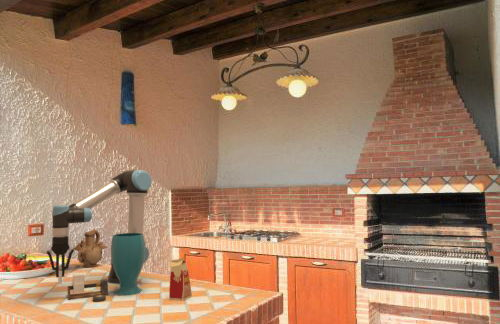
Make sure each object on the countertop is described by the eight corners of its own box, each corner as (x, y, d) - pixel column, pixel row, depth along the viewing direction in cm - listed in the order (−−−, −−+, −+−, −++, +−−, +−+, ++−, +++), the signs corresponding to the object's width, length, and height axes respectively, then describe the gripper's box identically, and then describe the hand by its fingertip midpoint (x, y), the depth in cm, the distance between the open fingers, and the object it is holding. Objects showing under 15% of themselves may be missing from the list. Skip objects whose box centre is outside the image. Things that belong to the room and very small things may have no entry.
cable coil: (104, 298, 223) (104, 293, 223) (106, 300, 218) (106, 296, 218) (92, 299, 220) (92, 295, 221) (93, 302, 215) (93, 298, 215)
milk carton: (191, 296, 225) (191, 256, 226) (183, 300, 216) (182, 259, 217) (175, 294, 228) (175, 255, 228) (166, 299, 219) (166, 258, 220)
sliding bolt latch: (106, 292, 235) (106, 278, 236) (108, 295, 229) (108, 281, 229) (67, 296, 227) (67, 282, 227) (68, 299, 221) (68, 285, 221)
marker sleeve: (83, 289, 229) (83, 273, 230) (84, 291, 225) (84, 274, 226) (72, 291, 227) (72, 274, 227) (73, 292, 223) (73, 276, 223)
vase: (134, 286, 247) (134, 232, 249) (151, 291, 235) (151, 234, 236) (105, 292, 235) (105, 235, 237) (121, 297, 223) (121, 237, 224)
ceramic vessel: (72, 266, 310) (72, 230, 311) (99, 262, 322) (99, 227, 323) (80, 270, 296) (80, 232, 297) (109, 266, 308) (109, 230, 308)
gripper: (73, 234, 230) (73, 280, 229) (45, 236, 224) (45, 283, 223) (75, 236, 223) (74, 283, 222) (46, 237, 217) (46, 286, 216)
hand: (60, 283), depth 223 cm, fingers closed
